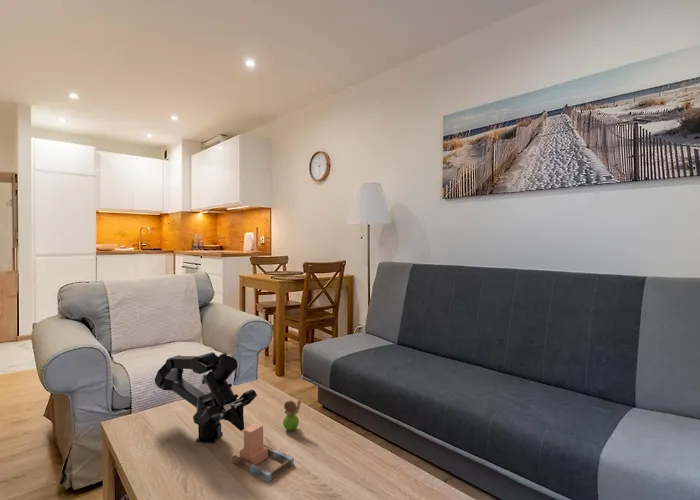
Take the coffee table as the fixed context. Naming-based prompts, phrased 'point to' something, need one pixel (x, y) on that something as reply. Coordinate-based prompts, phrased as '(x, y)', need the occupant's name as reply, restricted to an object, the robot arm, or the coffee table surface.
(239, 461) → the beam slot
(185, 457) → the coffee table surface
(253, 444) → the block
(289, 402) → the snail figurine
